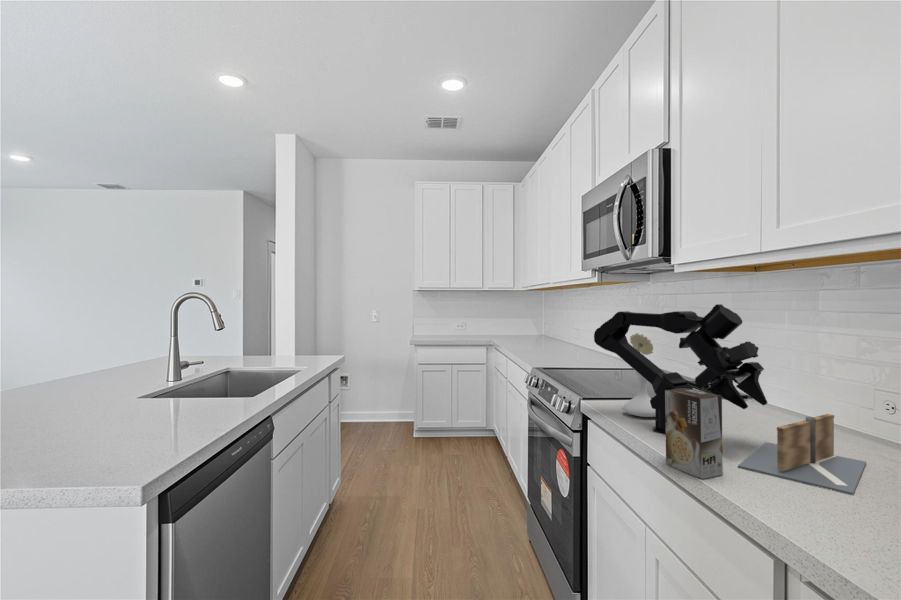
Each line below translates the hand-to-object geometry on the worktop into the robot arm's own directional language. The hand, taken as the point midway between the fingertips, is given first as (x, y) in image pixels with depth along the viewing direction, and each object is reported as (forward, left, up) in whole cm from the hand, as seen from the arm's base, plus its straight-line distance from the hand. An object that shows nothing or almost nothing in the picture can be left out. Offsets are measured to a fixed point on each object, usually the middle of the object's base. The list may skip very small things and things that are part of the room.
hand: (756, 406), depth 100 cm
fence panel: (+7, -4, -11) cm, 13 cm away
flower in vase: (-34, +17, -12) cm, 40 cm away
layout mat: (+8, +1, -11) cm, 14 cm away
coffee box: (-7, -19, -12) cm, 23 cm away
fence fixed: (+10, +7, -11) cm, 17 cm away
